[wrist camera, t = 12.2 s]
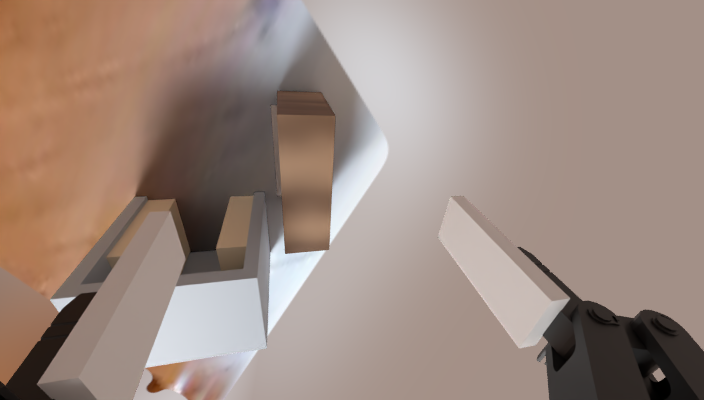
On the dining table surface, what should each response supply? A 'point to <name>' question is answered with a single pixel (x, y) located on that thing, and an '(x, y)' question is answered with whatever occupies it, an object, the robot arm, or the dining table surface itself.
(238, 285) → the white storage bin
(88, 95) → the dining table surface
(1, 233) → the dining table surface
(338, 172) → the dining table surface
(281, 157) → the walnut blank
